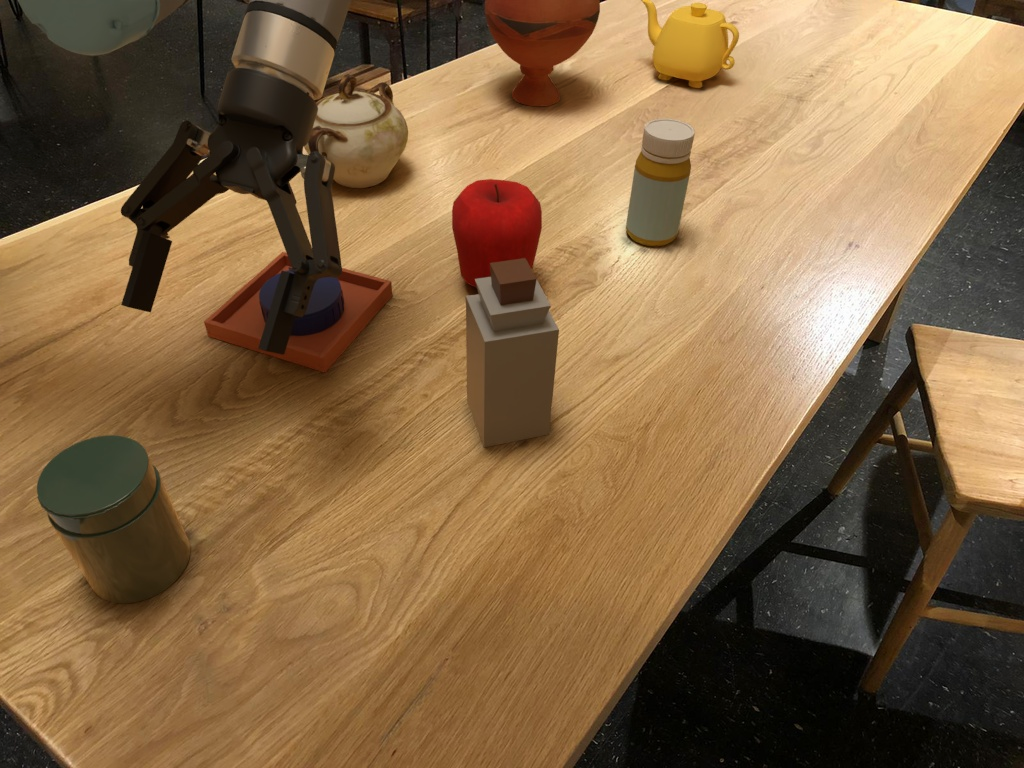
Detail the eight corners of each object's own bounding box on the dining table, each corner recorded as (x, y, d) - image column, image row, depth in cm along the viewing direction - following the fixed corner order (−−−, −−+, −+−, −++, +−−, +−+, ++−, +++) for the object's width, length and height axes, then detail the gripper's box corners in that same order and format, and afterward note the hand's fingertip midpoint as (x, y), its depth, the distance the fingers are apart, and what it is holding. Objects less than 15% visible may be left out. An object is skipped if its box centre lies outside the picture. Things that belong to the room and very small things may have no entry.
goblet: (565, 129, 127) (579, -37, 110) (463, 105, 133) (461, -56, 116) (605, 89, 140) (623, -65, 123) (510, 68, 145) (515, -82, 128)
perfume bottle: (549, 434, 76) (563, 287, 64) (483, 447, 75) (485, 299, 62) (528, 389, 81) (538, 244, 69) (467, 400, 79) (465, 254, 67)
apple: (472, 316, 90) (472, 215, 80) (441, 270, 96) (437, 171, 87) (552, 295, 93) (560, 196, 84) (516, 252, 100) (520, 155, 91)
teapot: (716, 98, 138) (732, 24, 129) (616, 73, 145) (625, 1, 137) (741, 74, 147) (758, 3, 138) (646, 52, 154) (656, -17, 145)
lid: (359, 316, 88) (356, 296, 86) (285, 346, 84) (280, 326, 82) (321, 278, 93) (317, 258, 91) (250, 305, 89) (244, 285, 87)
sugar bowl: (365, 218, 105) (353, 112, 95) (277, 192, 109) (256, 88, 99) (436, 158, 118) (432, 60, 108) (355, 137, 122) (343, 40, 112)
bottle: (662, 217, 107) (681, 114, 97) (685, 244, 102) (708, 138, 92) (617, 225, 106) (631, 120, 95) (638, 252, 101) (656, 145, 90)
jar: (66, 583, 62) (7, 495, 55) (135, 511, 68) (90, 421, 60) (146, 617, 61) (96, 531, 53) (210, 540, 66) (174, 451, 58)
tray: (207, 336, 86) (203, 321, 84) (285, 265, 96) (282, 251, 95) (325, 372, 82) (322, 358, 80) (392, 295, 92) (391, 281, 91)
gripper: (425, 133, 64) (352, 374, 64) (182, 79, 70) (115, 299, 70) (391, 93, 57) (308, 366, 57) (122, 37, 63) (48, 283, 63)
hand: (201, 330), depth 64 cm, fingers open, 13 cm apart
